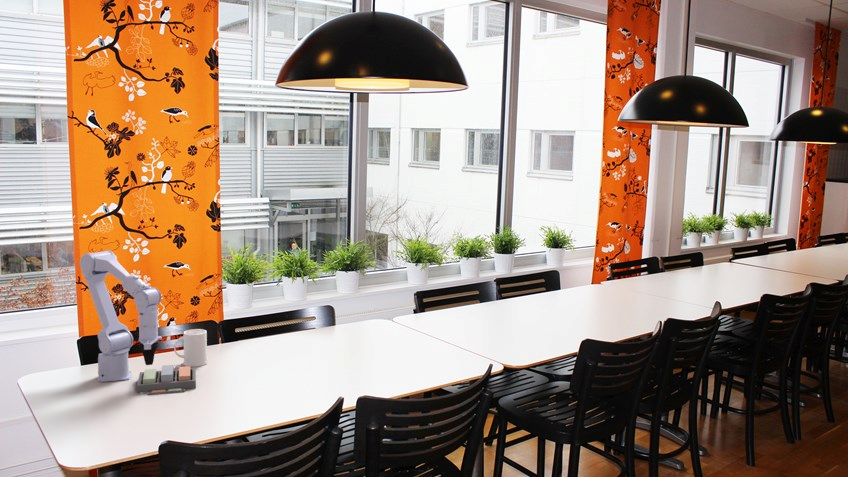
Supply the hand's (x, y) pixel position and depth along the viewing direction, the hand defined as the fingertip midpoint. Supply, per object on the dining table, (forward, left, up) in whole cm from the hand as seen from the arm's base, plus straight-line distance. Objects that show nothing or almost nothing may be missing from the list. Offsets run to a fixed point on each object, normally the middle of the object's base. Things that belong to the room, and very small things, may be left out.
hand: (149, 364), depth 221 cm
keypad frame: (+6, 0, -7) cm, 9 cm away
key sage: (0, 0, -7) cm, 7 cm away
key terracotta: (+11, 0, -7) cm, 13 cm away
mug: (+13, +20, -8) cm, 25 cm away
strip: (+6, -8, -7) cm, 12 cm away
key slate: (+6, 0, -6) cm, 8 cm away
